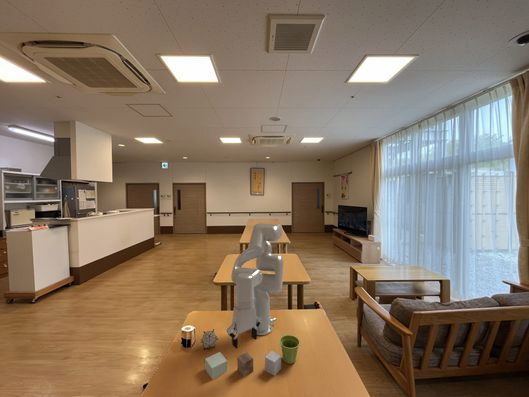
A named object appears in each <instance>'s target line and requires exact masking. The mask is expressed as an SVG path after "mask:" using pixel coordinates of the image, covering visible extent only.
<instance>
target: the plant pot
mask: <svg viewBox="0 0 529 397" xmlns="http://www.w3.org/2000/svg"><path fill="white" fill-rule="evenodd" d="M300 344H301V341H300V339H299V337H297V336H295V335H292V334H285V335H282V336H281V337H280V338H279V345H280V347H281V354H282V355H281V356H282V360H283V362H284V363H285V364H288V365H292V364H294V363H296V361H297V354H298V349H299V346H300Z"/></svg>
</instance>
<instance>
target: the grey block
mask: <svg viewBox="0 0 529 397" xmlns="http://www.w3.org/2000/svg"><path fill="white" fill-rule="evenodd" d="M264 359H265V360H264V366H265V367H264V371H265V372H267V373H269V374H271V375H272V376H276V375H277V374H278V373H279V372H280V371H281V369H282V355H281V354H279V353H277V352H275V351H273V350H271V351H269V353H268V354H267V355H265V358H264Z"/></svg>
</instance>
